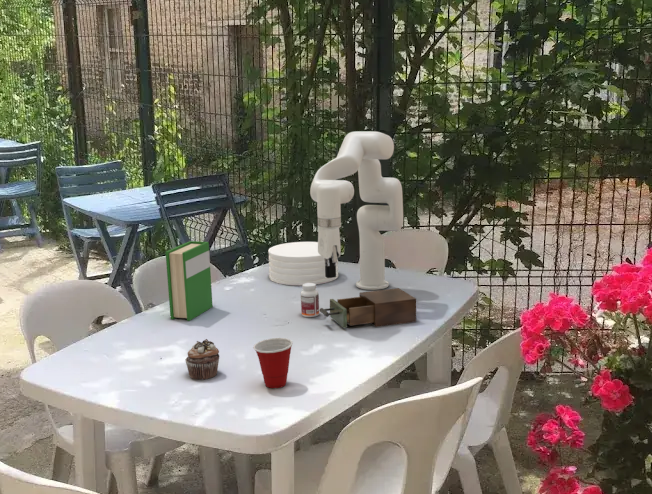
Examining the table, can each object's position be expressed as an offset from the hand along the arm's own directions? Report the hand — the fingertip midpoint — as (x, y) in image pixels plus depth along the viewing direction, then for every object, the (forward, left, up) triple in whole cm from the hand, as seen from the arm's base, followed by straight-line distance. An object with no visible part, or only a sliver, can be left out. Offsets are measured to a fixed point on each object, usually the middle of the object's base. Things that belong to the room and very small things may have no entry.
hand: (330, 277), depth 282 cm
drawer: (+1, +6, -15) cm, 16 cm away
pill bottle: (-13, -3, -17) cm, 21 cm away
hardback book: (-32, -41, -17) cm, 55 cm away
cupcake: (+30, -49, -17) cm, 60 cm away
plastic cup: (+45, -32, -17) cm, 58 cm away
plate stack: (-65, +11, -17) cm, 68 cm away
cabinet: (+1, +20, -16) cm, 26 cm away
